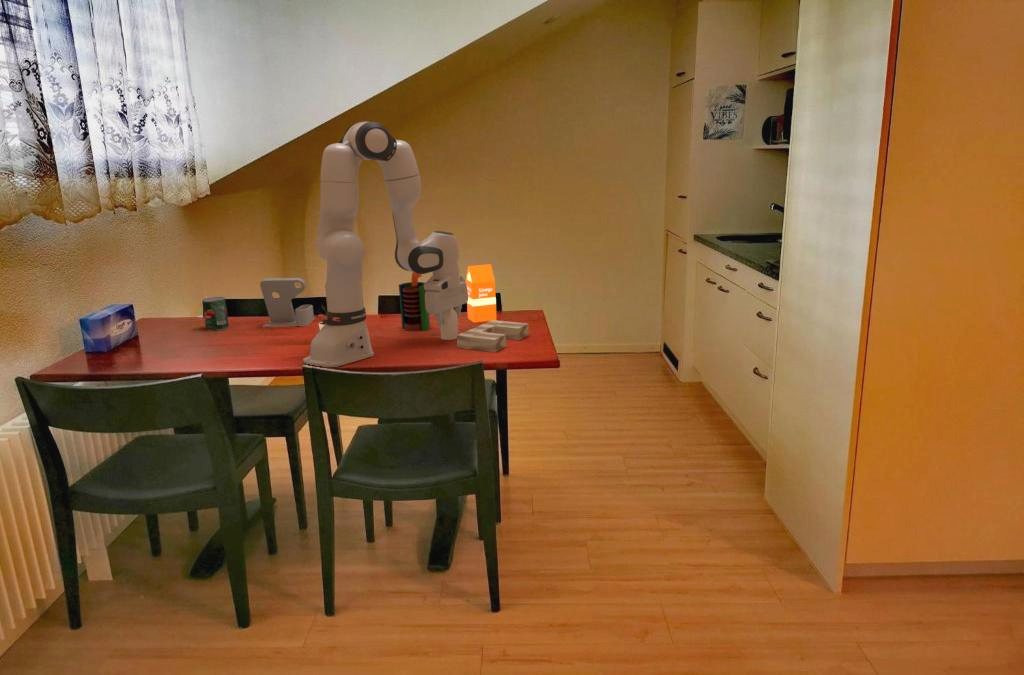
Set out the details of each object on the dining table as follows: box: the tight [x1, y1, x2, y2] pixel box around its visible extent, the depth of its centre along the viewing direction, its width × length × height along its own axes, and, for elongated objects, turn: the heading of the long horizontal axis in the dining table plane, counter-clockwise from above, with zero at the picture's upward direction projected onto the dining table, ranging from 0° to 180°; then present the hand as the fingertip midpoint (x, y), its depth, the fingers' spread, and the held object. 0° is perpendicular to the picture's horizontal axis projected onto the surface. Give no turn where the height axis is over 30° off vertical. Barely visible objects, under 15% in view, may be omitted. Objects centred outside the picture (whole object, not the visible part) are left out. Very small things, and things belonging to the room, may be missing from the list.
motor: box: [398, 272, 431, 332], centre depth 257 cm, size 10×9×20 cm
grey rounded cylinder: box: [439, 308, 459, 341], centre depth 243 cm, size 6×12×6 cm
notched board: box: [456, 320, 530, 353], centre depth 238 cm, size 22×14×4 cm, turn 150°
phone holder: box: [259, 277, 315, 328], centre depth 269 cm, size 17×10×18 cm, turn 86°
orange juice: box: [465, 263, 498, 323], centre depth 267 cm, size 8×9×20 cm
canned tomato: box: [201, 296, 230, 332], centre depth 267 cm, size 8×8×11 cm
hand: (448, 321), depth 243 cm, fingers open, 8 cm apart
